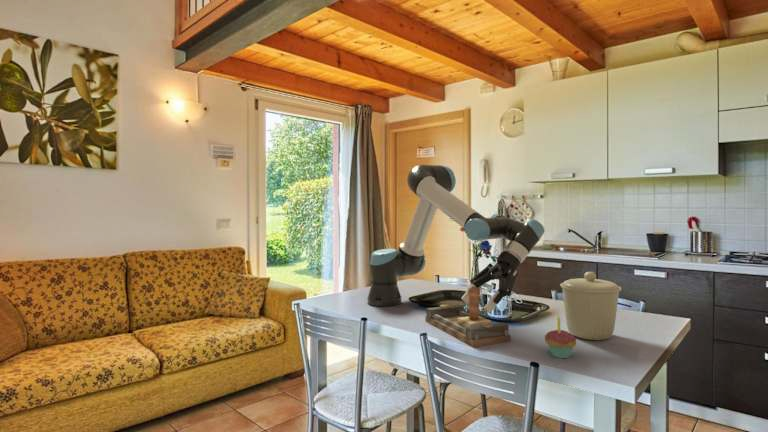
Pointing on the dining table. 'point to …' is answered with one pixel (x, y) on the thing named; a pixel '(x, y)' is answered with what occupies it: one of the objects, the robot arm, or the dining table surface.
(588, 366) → the dining table surface
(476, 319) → the carriage
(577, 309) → the canister
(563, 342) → the cupcake
